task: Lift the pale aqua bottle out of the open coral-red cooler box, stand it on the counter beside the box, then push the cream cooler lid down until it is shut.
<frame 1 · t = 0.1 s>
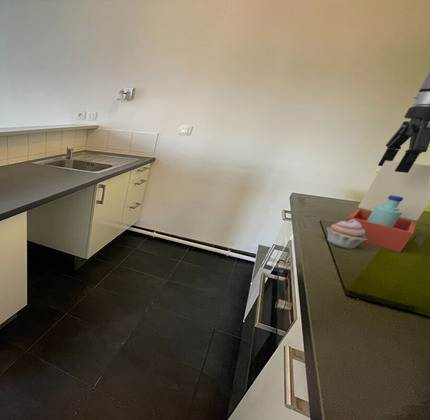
hand: (391, 169, 90), 24 cm above the counter, tool pointing down, fingers open, 13 cm apart
cooler: (369, 239, 90), on the counter
cupcake: (338, 245, 84), on the counter
bottle: (371, 236, 90), point 1 cm above the counter, touching cooler
cooler lid: (400, 189, 89), point 18 cm above the counter, hinge at 100.0°
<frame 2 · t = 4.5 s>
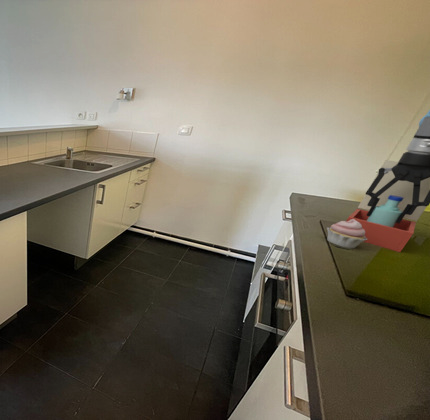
hand: (382, 218, 87), 8 cm above the counter, tool pointing down, fingers closed on bottle, 6 cm apart
bottle: (371, 236, 90), point 1 cm above the counter, touching cooler, gripper
cooler lid: (400, 189, 88), point 18 cm above the counter, hinge at 94.2°
everything else where it was.
when the fingers open (7 cm above the counter, at t = 11.5 s): bottle stays where it is, on the counter.
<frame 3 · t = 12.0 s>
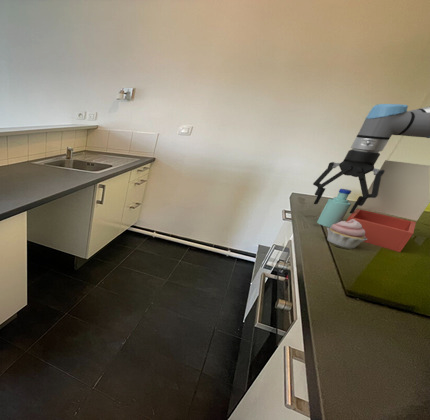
hand: (332, 208, 96), 8 cm above the counter, tool pointing down, fingers open, 9 cm apart
bottle: (326, 226, 99), on the counter
everything else where it was.
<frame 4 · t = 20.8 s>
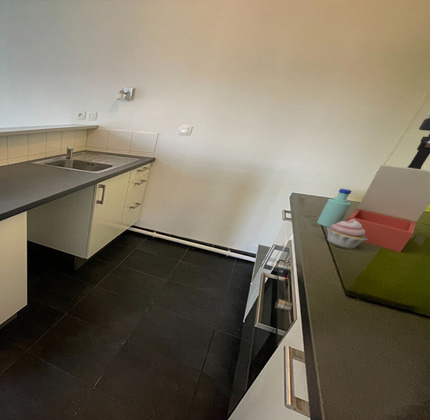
hand: (400, 188, 86), 19 cm above the counter, tool pointing down, fingers closed
cooler lid: (398, 192, 86), point 17 cm above the counter, hinge at 70.0°, touching gripper, hand
everything else where it was.
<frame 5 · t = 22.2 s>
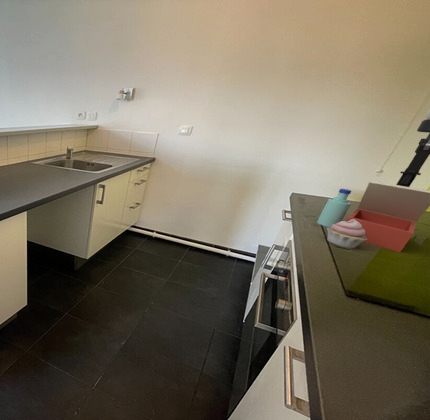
hand: (398, 193, 83), 18 cm above the counter, tool pointing down, fingers closed
cooler lid: (393, 201, 85), point 15 cm above the counter, hinge at 41.0°
everything else where it was.
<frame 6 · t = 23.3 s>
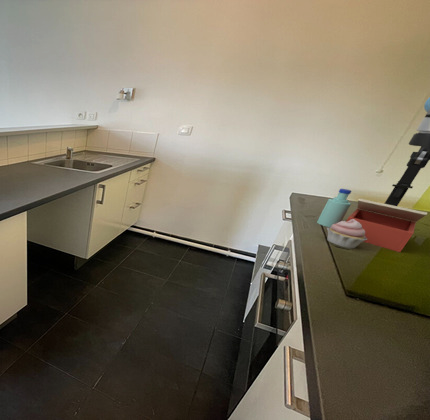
hand: (390, 205, 83), 14 cm above the counter, tool pointing down, fingers closed
cooler lid: (387, 210, 86), point 12 cm above the counter, hinge at 19.4°, touching gripper
everything else where it was.
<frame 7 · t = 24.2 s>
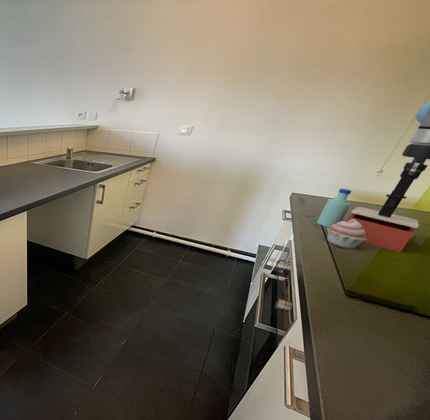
hand: (384, 215, 83), 11 cm above the counter, tool pointing down, fingers closed
cooler lid: (384, 216, 86), point 9 cm above the counter, hinge at 5.6°, touching gripper
everything else where it was.
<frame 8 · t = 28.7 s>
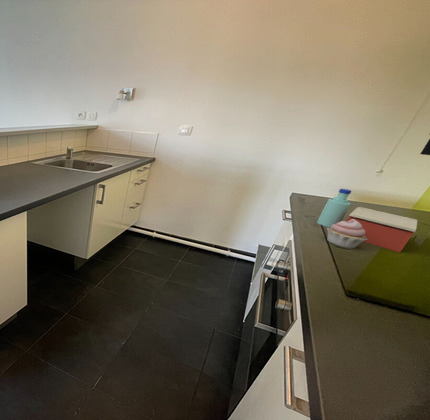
hand: (426, 154, 85), 30 cm above the counter, tool pointing down, fingers closed
cooler lid: (383, 217, 86), point 9 cm above the counter, hinge at 1.9°
everything else where it was.
at the end: bottle inside the target area (0.3 cm from its centre), on the counter; bottle tilted 0°; cooler lid at +2° (first picture: +100°) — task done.
